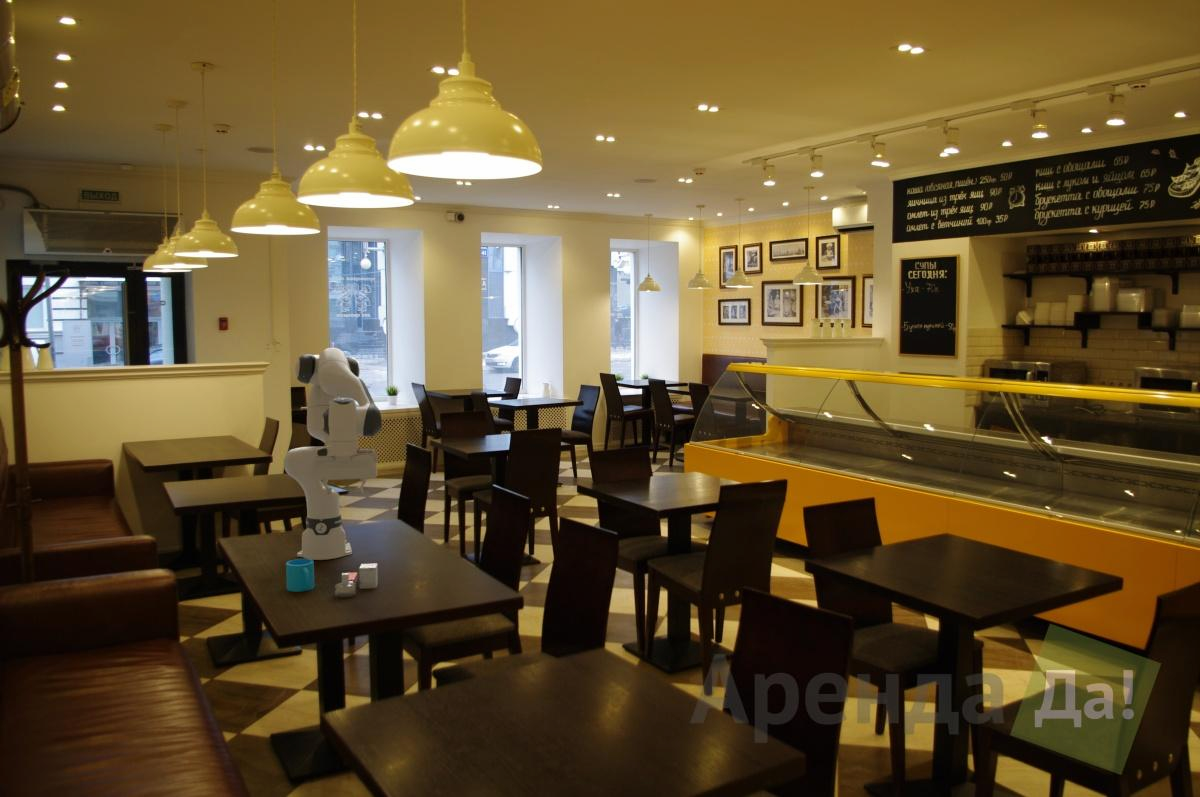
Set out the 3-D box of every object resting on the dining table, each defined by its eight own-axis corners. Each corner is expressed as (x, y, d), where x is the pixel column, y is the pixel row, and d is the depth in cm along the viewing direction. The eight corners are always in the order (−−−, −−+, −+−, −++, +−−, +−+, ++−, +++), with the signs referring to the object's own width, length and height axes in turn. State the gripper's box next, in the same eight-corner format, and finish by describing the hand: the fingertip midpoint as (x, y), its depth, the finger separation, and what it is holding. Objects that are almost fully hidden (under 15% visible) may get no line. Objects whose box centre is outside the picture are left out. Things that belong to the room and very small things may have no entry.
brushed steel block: (361, 584, 283) (361, 563, 282) (377, 583, 284) (377, 563, 283) (359, 588, 278) (359, 568, 278) (376, 588, 279) (375, 567, 278)
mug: (283, 586, 280) (282, 561, 279) (309, 582, 285) (308, 557, 284) (295, 596, 270) (294, 570, 270) (322, 591, 275) (321, 565, 274)
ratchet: (342, 580, 287) (342, 560, 287) (362, 579, 288) (361, 560, 287) (333, 598, 269) (333, 576, 268) (354, 597, 270) (353, 576, 269)
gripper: (378, 447, 284) (379, 491, 285) (312, 449, 281) (313, 492, 282) (376, 449, 278) (377, 494, 278) (308, 451, 275) (309, 495, 276)
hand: (344, 493), depth 280 cm, fingers open, 8 cm apart
